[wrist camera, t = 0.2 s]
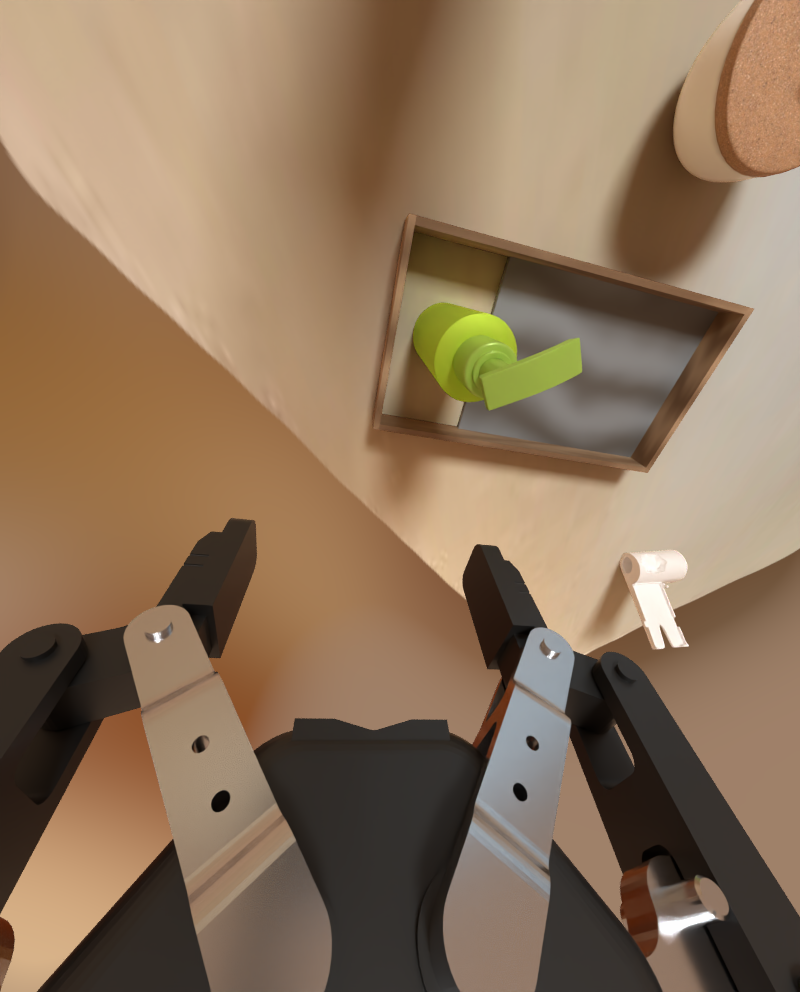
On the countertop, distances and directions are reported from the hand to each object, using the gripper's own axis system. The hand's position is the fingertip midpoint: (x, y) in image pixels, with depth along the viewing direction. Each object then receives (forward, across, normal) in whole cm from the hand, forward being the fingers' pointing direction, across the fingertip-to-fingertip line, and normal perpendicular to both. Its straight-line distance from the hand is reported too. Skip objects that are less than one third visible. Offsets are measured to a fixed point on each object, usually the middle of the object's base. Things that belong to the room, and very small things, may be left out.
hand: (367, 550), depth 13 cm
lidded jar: (+29, -24, -25) cm, 45 cm away
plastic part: (+28, -48, +23) cm, 61 cm away
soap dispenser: (+28, -7, -5) cm, 30 cm away
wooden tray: (+28, -18, -4) cm, 34 cm away
